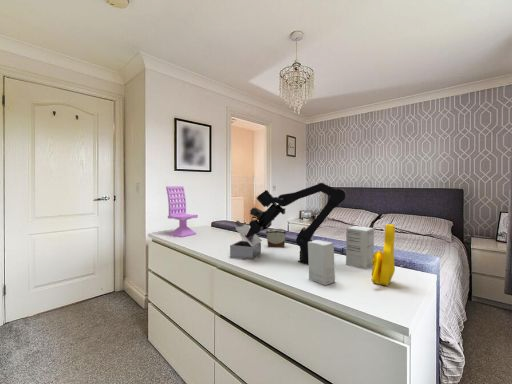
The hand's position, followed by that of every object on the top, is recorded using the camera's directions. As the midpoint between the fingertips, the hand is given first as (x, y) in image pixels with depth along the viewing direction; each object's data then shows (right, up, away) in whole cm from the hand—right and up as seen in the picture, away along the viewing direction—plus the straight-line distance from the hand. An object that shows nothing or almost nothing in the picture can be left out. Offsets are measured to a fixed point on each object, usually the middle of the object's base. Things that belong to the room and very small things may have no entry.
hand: (250, 234), depth 128 cm
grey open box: (-2, -11, +1) cm, 11 cm away
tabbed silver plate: (-2, +1, +1) cm, 2 cm away
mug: (-3, -10, +28) cm, 30 cm away
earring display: (-51, -9, +56) cm, 76 cm away
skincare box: (+28, -12, -33) cm, 44 cm away
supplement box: (+50, -11, -13) cm, 53 cm away
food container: (+15, -10, +21) cm, 28 cm away
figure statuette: (+50, -12, -35) cm, 62 cm away
